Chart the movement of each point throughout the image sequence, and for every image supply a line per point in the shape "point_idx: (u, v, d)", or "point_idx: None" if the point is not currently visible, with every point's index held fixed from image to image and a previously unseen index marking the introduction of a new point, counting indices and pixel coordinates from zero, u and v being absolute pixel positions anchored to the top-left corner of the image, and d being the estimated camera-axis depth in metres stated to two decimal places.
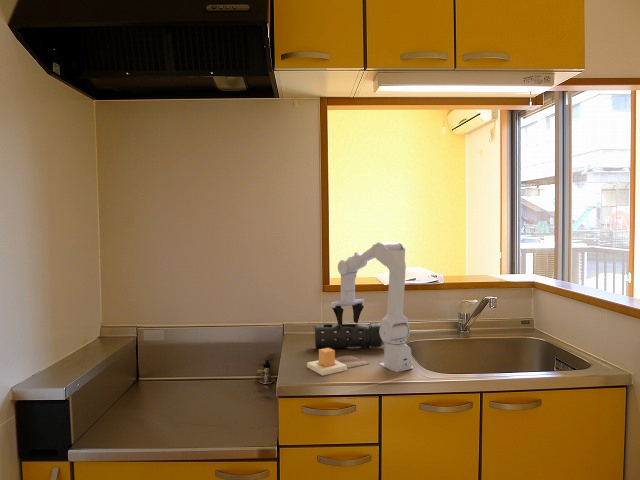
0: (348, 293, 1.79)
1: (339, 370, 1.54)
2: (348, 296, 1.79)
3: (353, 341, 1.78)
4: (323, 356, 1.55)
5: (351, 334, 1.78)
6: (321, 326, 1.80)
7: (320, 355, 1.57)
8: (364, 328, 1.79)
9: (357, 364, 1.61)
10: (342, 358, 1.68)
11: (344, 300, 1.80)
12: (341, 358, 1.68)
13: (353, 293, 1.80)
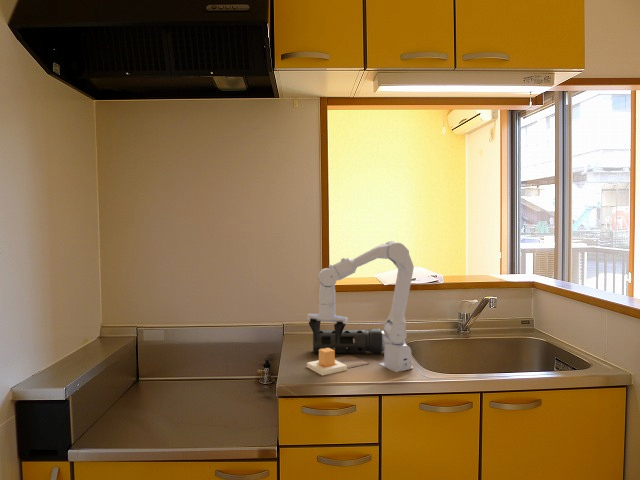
0: (320, 307, 1.56)
1: (339, 370, 1.54)
2: (321, 311, 1.56)
3: None
4: (323, 356, 1.55)
5: (350, 351, 1.73)
6: (319, 343, 1.72)
7: (320, 355, 1.57)
8: (364, 347, 1.72)
9: (357, 364, 1.61)
10: (342, 358, 1.68)
11: (319, 314, 1.57)
12: (341, 358, 1.68)
13: (326, 308, 1.55)
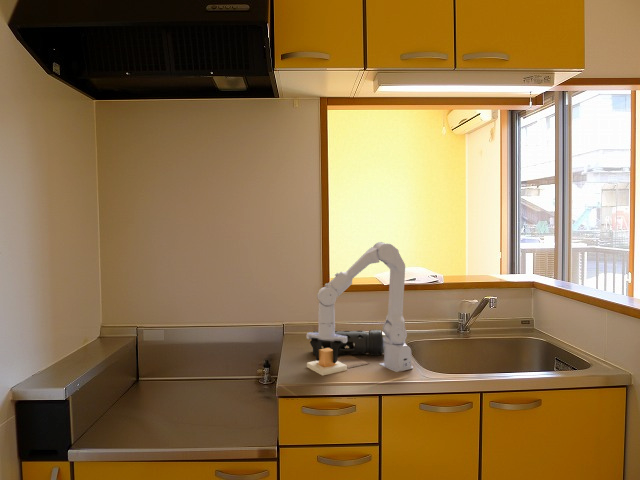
0: (320, 326, 1.55)
1: (339, 370, 1.54)
2: (320, 330, 1.55)
3: None
4: (323, 356, 1.55)
5: (350, 354, 1.73)
6: None
7: (320, 355, 1.57)
8: (364, 352, 1.71)
9: (357, 364, 1.61)
10: (342, 358, 1.68)
11: (318, 333, 1.57)
12: (341, 358, 1.68)
13: (326, 327, 1.54)
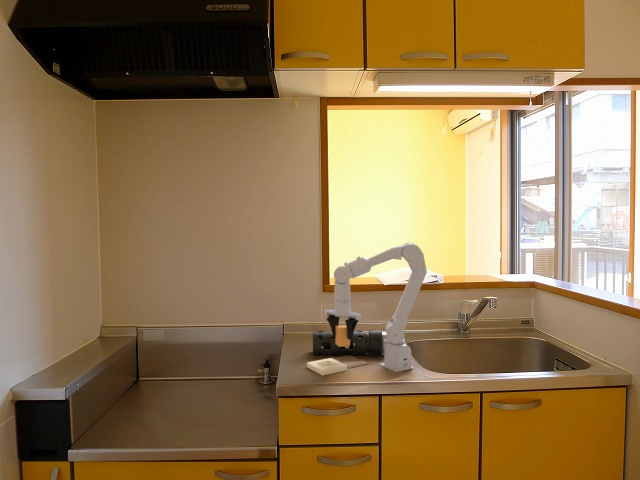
0: (335, 303, 1.60)
1: (339, 370, 1.54)
2: (335, 307, 1.60)
3: None
4: (338, 332, 1.60)
5: (350, 354, 1.73)
6: (319, 349, 1.71)
7: (336, 331, 1.62)
8: (364, 352, 1.71)
9: (357, 364, 1.61)
10: (342, 358, 1.68)
11: (334, 310, 1.62)
12: (341, 358, 1.68)
13: (340, 304, 1.59)
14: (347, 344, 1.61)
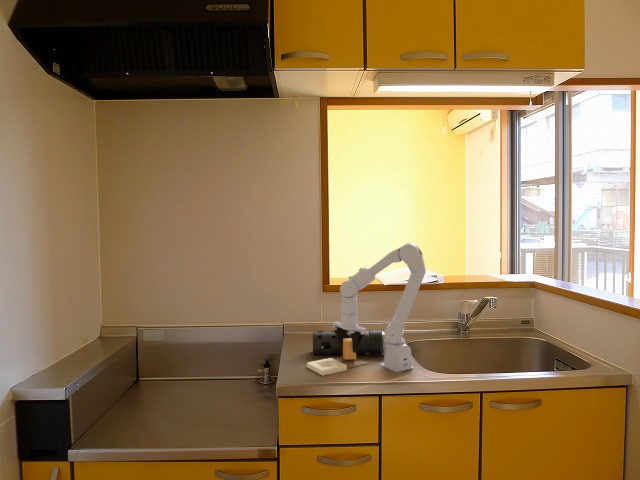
0: (341, 316, 1.63)
1: (339, 370, 1.54)
2: (342, 320, 1.63)
3: None
4: (344, 345, 1.63)
5: None
6: (319, 349, 1.71)
7: (343, 344, 1.65)
8: (364, 352, 1.71)
9: (357, 364, 1.61)
10: (342, 358, 1.68)
11: None
12: (341, 358, 1.68)
13: (346, 317, 1.62)
14: (353, 357, 1.63)
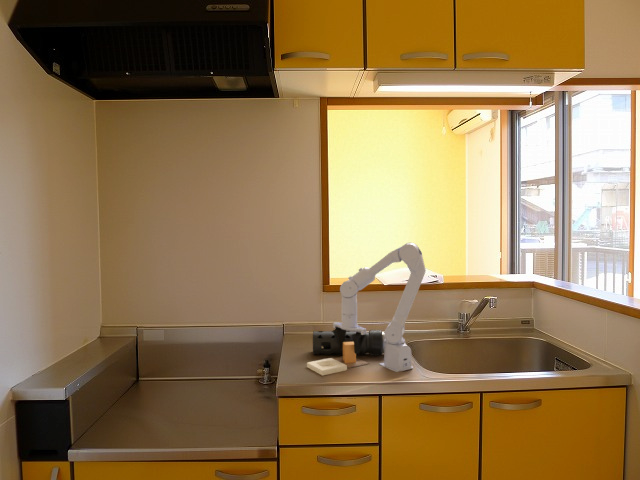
0: (341, 316, 1.63)
1: (339, 370, 1.54)
2: (342, 320, 1.63)
3: None
4: (344, 348, 1.63)
5: None
6: (319, 349, 1.71)
7: (343, 347, 1.65)
8: (364, 352, 1.71)
9: (357, 364, 1.61)
10: (342, 358, 1.68)
11: None
12: (341, 358, 1.68)
13: (346, 318, 1.62)
14: (353, 361, 1.63)
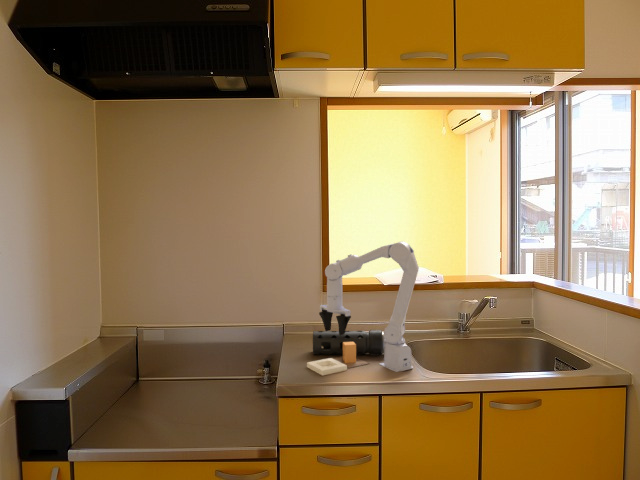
0: (327, 298, 1.66)
1: (339, 370, 1.54)
2: (327, 302, 1.66)
3: None
4: (344, 348, 1.63)
5: None
6: (319, 349, 1.71)
7: (343, 347, 1.65)
8: (364, 352, 1.71)
9: (357, 364, 1.61)
10: (342, 358, 1.68)
11: None
12: (341, 358, 1.68)
13: (331, 300, 1.64)
14: (353, 361, 1.63)
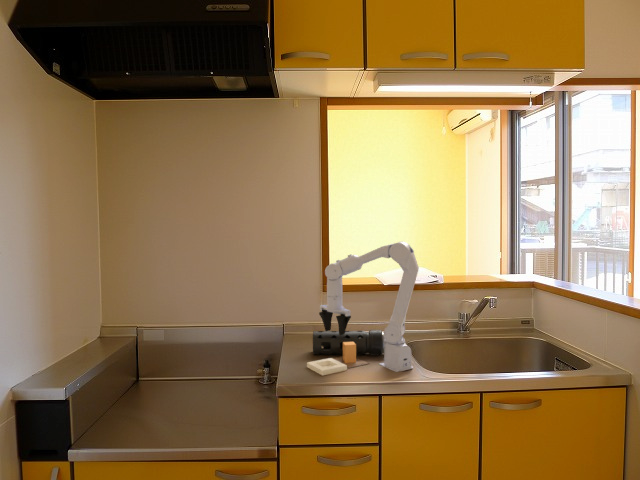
0: (327, 298, 1.66)
1: (339, 370, 1.54)
2: (327, 302, 1.66)
3: None
4: (344, 348, 1.63)
5: None
6: (319, 349, 1.71)
7: (343, 347, 1.65)
8: (364, 352, 1.71)
9: (357, 364, 1.61)
10: (342, 358, 1.68)
11: None
12: (341, 358, 1.68)
13: (331, 300, 1.64)
14: (353, 361, 1.63)
